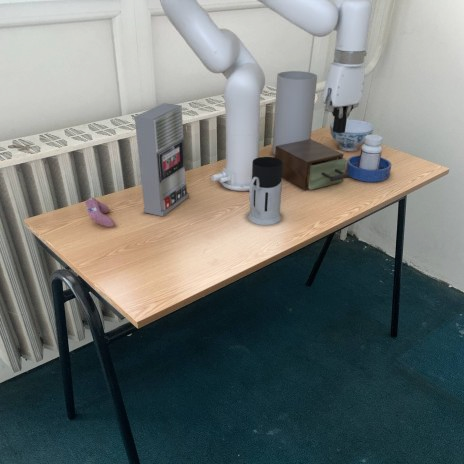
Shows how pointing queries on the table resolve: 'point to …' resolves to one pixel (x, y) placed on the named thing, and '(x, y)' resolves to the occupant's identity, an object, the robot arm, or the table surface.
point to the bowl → (367, 174)
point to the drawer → (326, 173)
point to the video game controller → (99, 212)
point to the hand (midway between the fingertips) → (338, 131)
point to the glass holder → (265, 191)
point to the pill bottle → (371, 152)
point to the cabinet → (302, 159)
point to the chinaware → (352, 134)
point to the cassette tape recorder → (161, 158)
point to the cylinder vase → (294, 107)
